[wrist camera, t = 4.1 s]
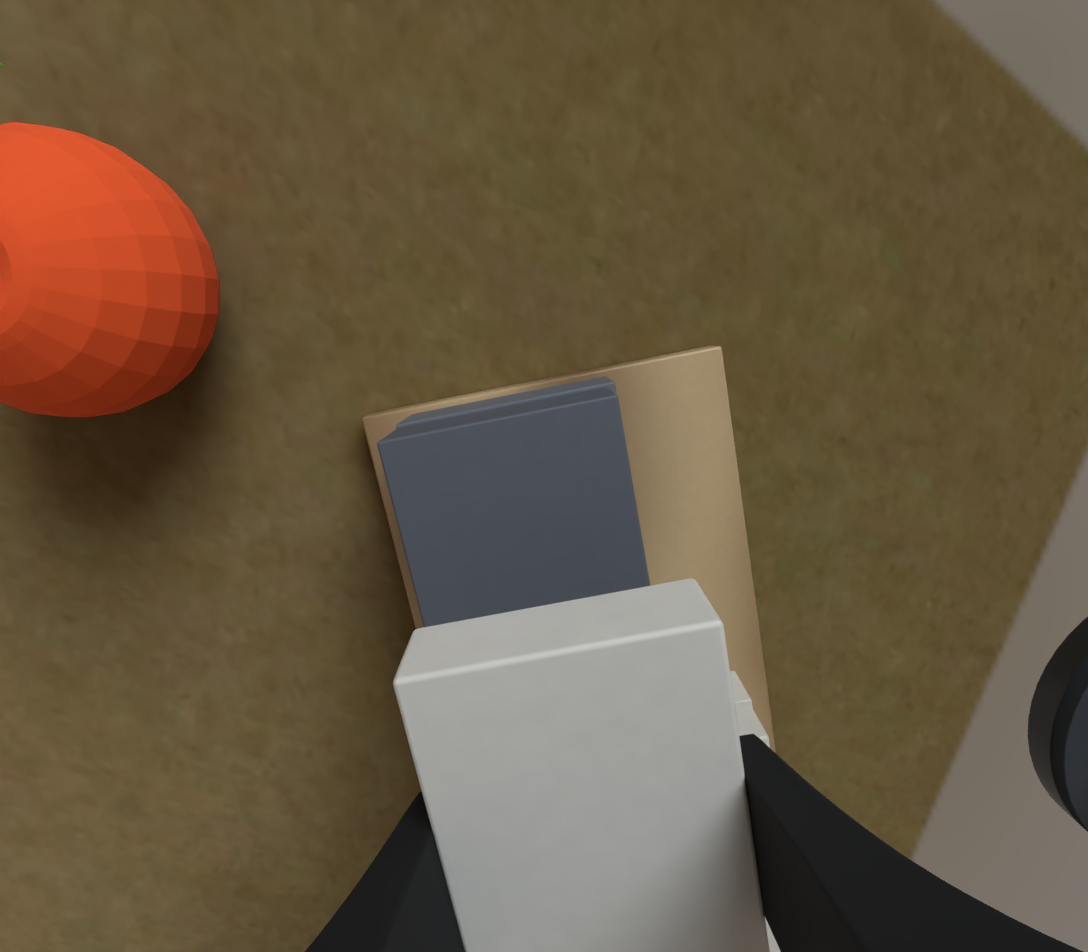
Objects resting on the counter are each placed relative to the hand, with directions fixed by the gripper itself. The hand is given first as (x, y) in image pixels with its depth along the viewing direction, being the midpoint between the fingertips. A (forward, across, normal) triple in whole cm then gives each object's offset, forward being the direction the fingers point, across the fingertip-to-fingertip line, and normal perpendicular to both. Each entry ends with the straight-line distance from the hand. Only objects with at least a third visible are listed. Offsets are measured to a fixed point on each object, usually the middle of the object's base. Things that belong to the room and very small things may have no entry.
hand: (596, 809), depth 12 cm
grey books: (+9, +1, -2) cm, 10 cm away
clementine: (+11, +11, -12) cm, 20 cm away
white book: (0, 0, 0) cm, 0 cm away
